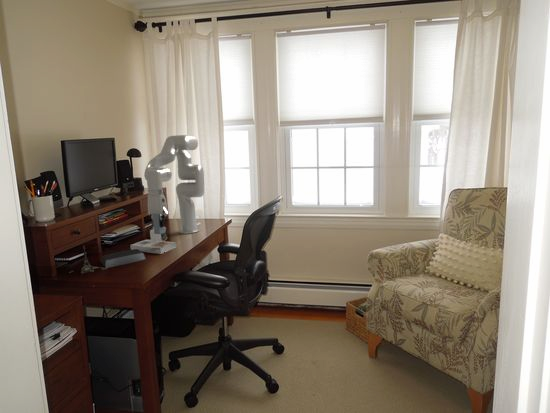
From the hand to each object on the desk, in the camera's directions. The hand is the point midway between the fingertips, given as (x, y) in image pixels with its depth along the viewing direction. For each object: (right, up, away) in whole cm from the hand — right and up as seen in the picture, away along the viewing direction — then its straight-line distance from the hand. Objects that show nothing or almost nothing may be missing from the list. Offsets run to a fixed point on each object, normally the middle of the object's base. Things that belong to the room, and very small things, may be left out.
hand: (159, 226), depth 216 cm
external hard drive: (-14, -18, -13) cm, 26 cm away
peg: (0, -4, +1) cm, 4 cm away
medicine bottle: (-7, -10, +23) cm, 26 cm away
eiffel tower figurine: (-26, -21, -25) cm, 42 cm away
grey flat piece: (-5, -13, +5) cm, 15 cm away
